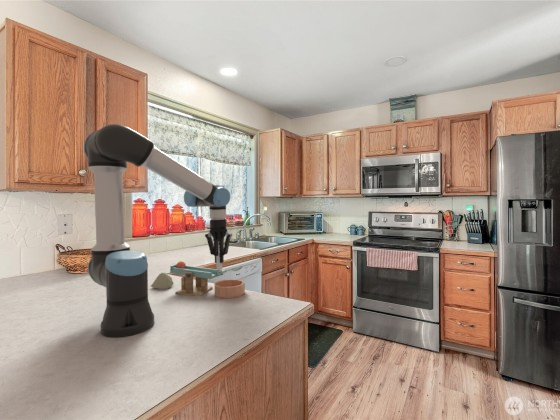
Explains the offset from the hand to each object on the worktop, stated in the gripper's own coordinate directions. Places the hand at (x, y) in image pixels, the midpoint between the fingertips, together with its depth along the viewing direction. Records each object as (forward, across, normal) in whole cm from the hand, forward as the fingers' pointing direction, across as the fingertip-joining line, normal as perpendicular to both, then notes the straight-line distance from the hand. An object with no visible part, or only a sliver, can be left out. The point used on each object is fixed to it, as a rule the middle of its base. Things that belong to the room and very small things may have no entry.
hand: (219, 269), depth 135 cm
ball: (-1, +16, +7) cm, 17 cm away
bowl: (+8, -8, +7) cm, 14 cm away
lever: (+1, +8, +3) cm, 9 cm away
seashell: (+8, +28, +4) cm, 29 cm away
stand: (+8, +9, +7) cm, 14 cm away
